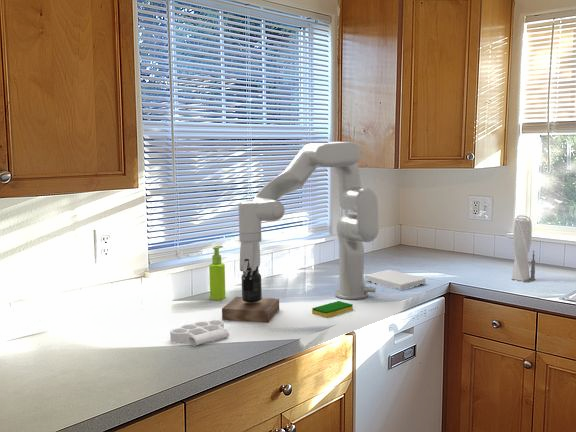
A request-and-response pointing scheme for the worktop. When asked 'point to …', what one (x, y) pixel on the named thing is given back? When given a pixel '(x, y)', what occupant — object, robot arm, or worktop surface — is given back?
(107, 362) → the worktop surface
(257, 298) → the supplement bottle
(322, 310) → the dish sponge
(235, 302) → the stand
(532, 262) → the paper towel holder
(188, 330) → the white compartment tray
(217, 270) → the soap dispenser
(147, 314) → the worktop surface
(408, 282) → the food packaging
